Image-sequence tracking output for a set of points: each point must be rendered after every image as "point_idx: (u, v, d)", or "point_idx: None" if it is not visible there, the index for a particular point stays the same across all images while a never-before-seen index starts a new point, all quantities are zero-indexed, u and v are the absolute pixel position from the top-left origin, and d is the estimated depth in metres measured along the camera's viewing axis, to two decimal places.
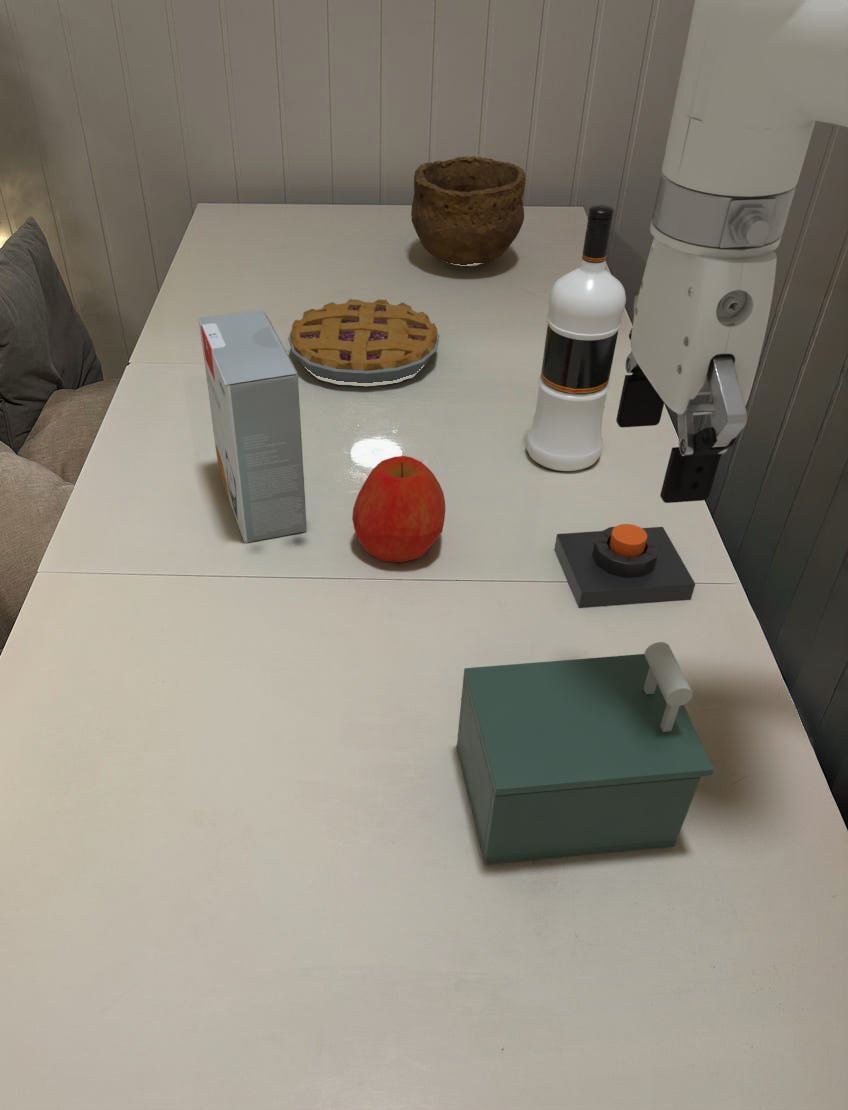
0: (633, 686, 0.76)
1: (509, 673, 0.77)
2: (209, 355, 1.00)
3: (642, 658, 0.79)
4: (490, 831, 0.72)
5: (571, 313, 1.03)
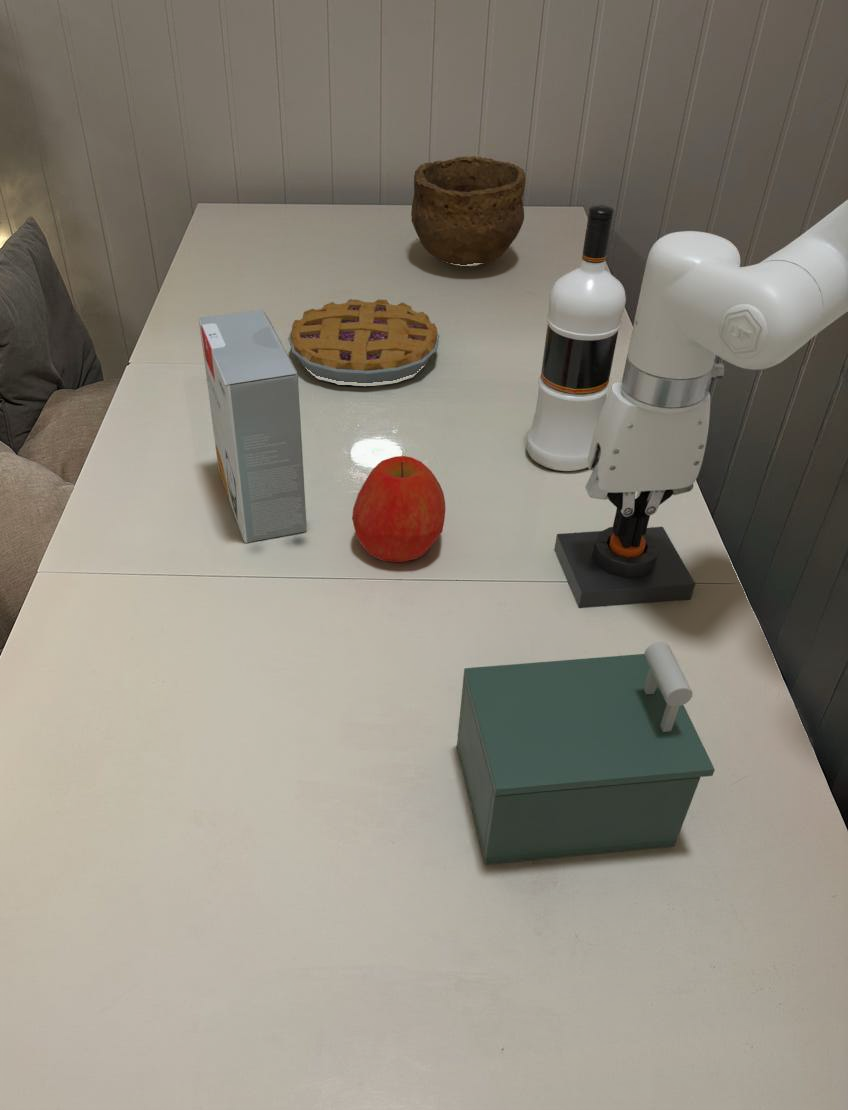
0: (633, 686, 0.76)
1: (509, 673, 0.77)
2: (209, 355, 1.00)
3: (642, 658, 0.79)
4: (490, 831, 0.72)
5: (571, 313, 1.03)
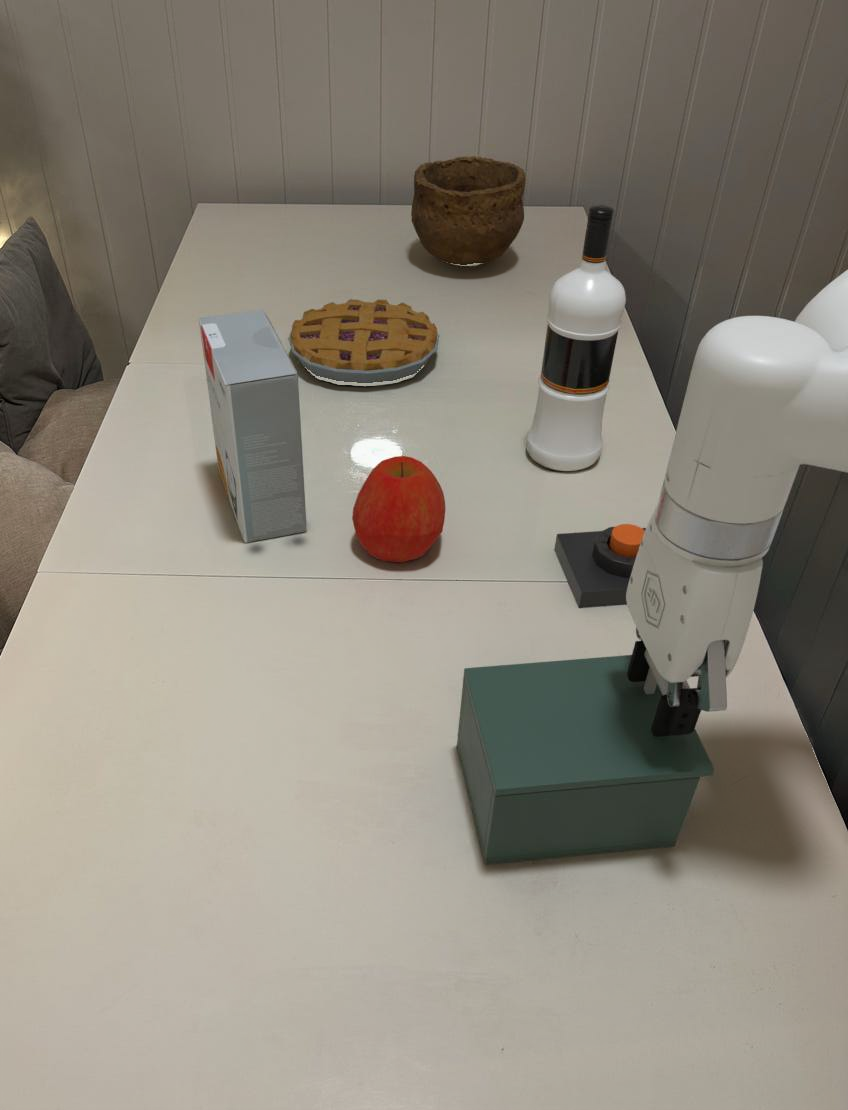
0: (633, 686, 0.76)
1: (509, 673, 0.77)
2: (209, 355, 1.00)
3: None
4: (490, 831, 0.72)
5: (571, 313, 1.03)
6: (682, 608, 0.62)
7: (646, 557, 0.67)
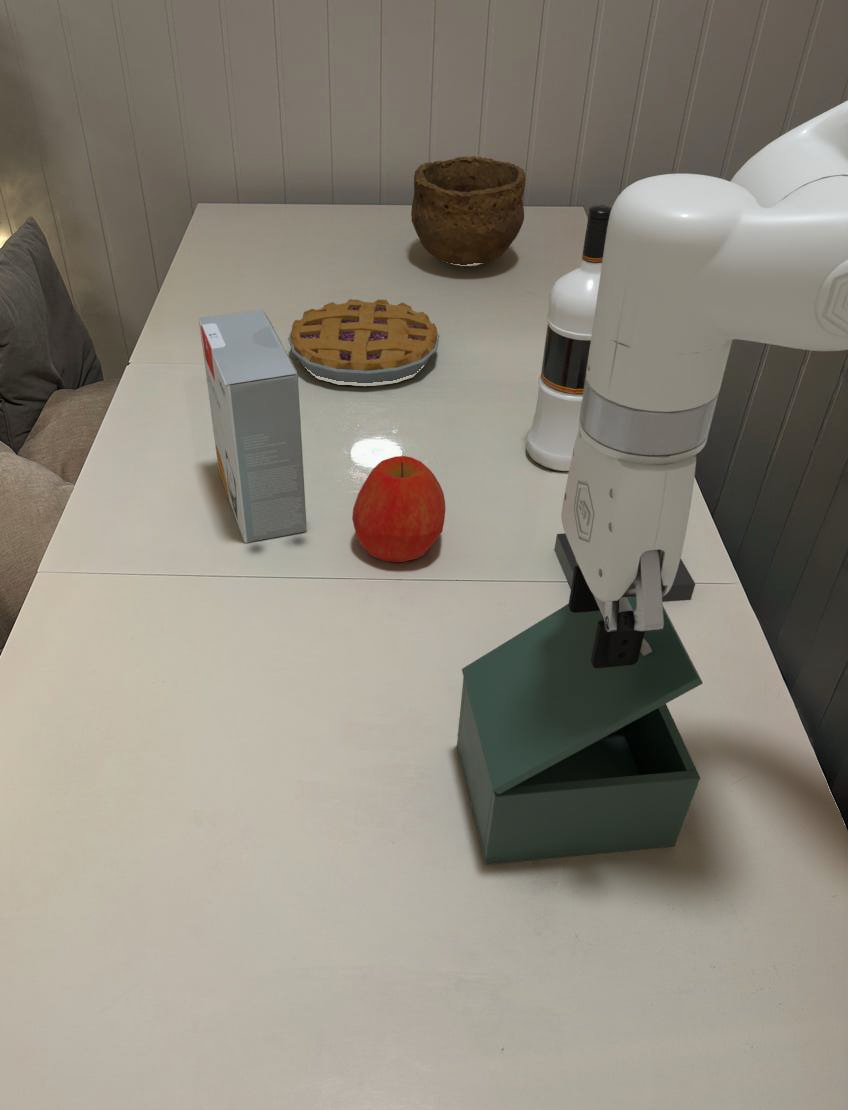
0: None
1: (499, 655, 0.76)
2: (209, 355, 1.00)
3: None
4: (490, 831, 0.72)
5: (571, 313, 1.03)
6: (610, 514, 0.56)
7: (577, 466, 0.61)
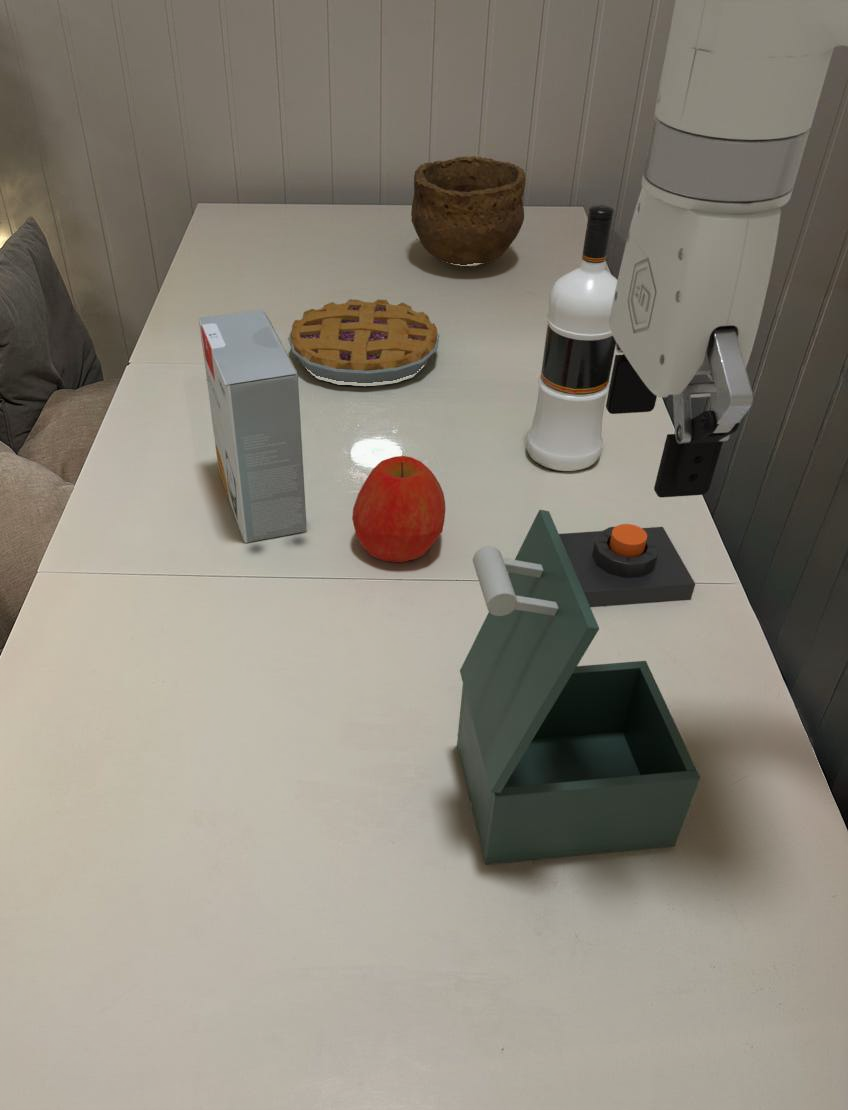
0: (533, 576, 0.67)
1: (477, 648, 0.75)
2: (209, 355, 1.00)
3: (532, 531, 0.68)
4: (490, 831, 0.72)
5: (571, 313, 1.03)
6: (678, 281, 0.49)
7: (633, 248, 0.54)
